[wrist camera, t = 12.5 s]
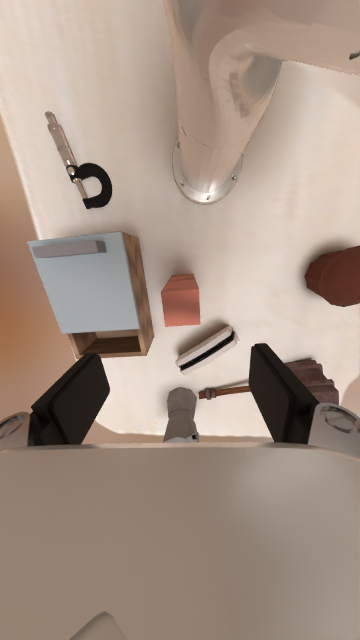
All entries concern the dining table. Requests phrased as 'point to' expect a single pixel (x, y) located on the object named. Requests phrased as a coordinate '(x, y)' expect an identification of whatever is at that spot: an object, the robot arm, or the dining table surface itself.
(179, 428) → the coffeepot
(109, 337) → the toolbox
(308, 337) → the dining table surface
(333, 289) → the muffin
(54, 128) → the micrometer
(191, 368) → the white curved piece
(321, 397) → the hammer
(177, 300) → the peg
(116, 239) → the lid
